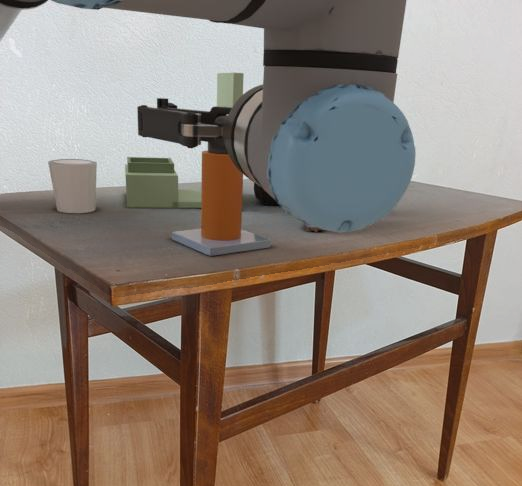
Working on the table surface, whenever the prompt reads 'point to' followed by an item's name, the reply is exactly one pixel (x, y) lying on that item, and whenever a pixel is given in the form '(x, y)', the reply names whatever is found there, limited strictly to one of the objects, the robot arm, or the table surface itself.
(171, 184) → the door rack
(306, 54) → the robot arm
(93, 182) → the white cup
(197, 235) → the coaster
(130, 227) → the table surface
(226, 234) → the amber bottle
